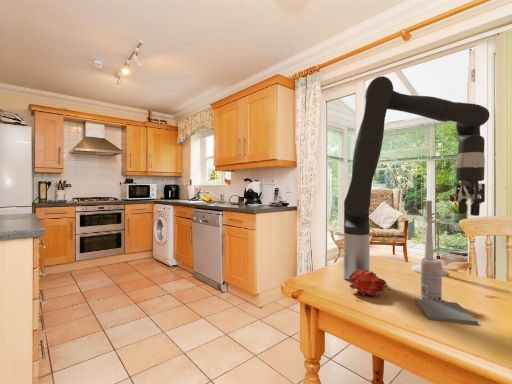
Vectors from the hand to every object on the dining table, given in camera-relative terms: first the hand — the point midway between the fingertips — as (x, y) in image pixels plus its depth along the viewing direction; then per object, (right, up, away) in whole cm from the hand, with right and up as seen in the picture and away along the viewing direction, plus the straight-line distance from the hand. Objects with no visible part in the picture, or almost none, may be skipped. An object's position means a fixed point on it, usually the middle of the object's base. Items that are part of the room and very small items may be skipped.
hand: (468, 214), depth 92 cm
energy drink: (-18, -26, -8) cm, 32 cm away
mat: (-21, -25, -17) cm, 37 cm away
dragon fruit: (-36, -26, -4) cm, 45 cm away
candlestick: (0, -26, +21) cm, 33 cm away
